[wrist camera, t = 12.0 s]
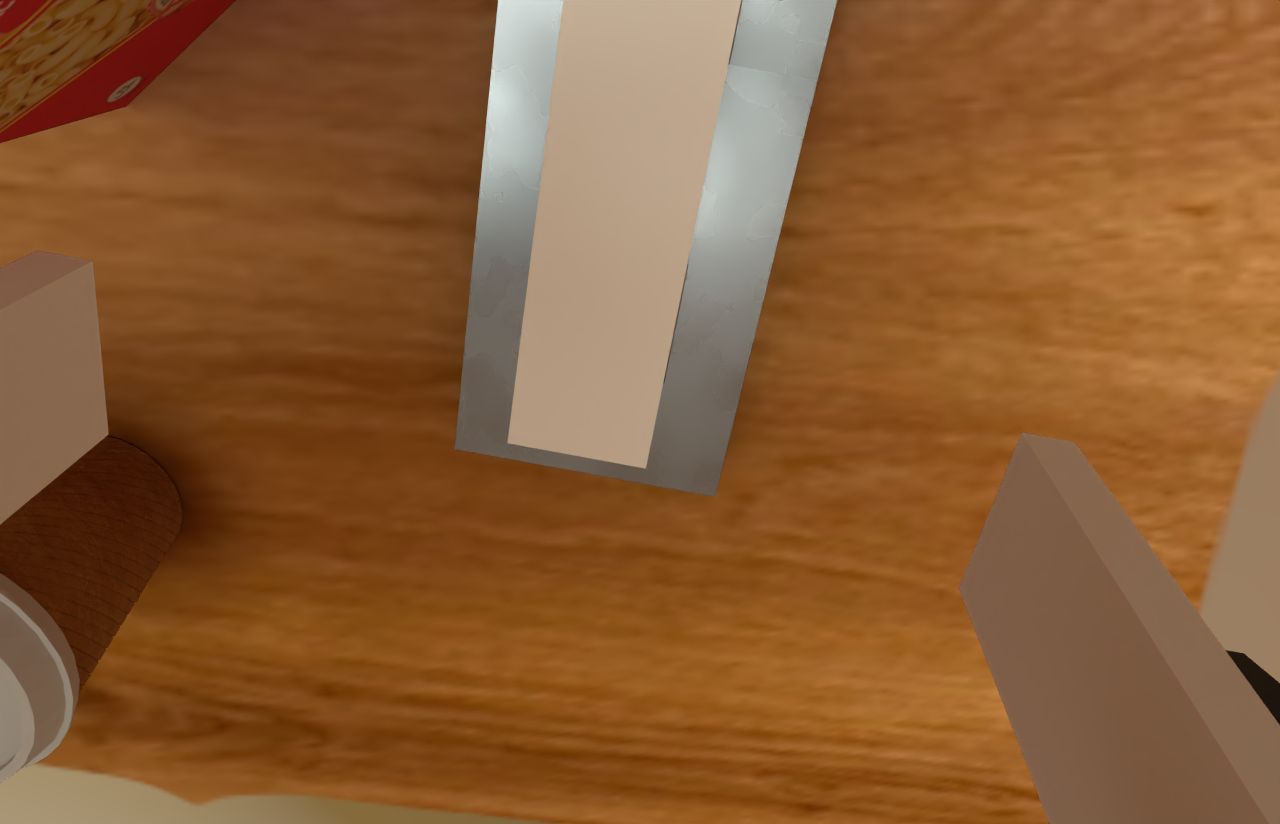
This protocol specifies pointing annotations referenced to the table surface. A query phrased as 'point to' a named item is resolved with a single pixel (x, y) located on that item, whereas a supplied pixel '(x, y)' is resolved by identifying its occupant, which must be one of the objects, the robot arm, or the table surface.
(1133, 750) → the robot arm
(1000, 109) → the table surface
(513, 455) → the grey flat rectangular block
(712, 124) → the white block
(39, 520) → the disposable coffee cup
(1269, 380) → the table surface
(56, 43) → the food packaging
